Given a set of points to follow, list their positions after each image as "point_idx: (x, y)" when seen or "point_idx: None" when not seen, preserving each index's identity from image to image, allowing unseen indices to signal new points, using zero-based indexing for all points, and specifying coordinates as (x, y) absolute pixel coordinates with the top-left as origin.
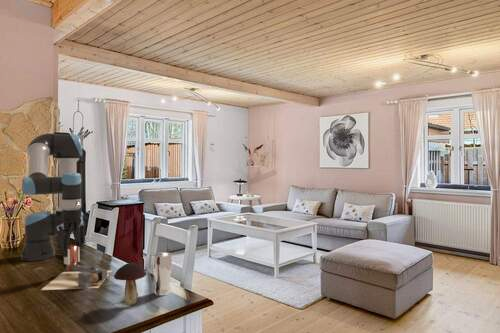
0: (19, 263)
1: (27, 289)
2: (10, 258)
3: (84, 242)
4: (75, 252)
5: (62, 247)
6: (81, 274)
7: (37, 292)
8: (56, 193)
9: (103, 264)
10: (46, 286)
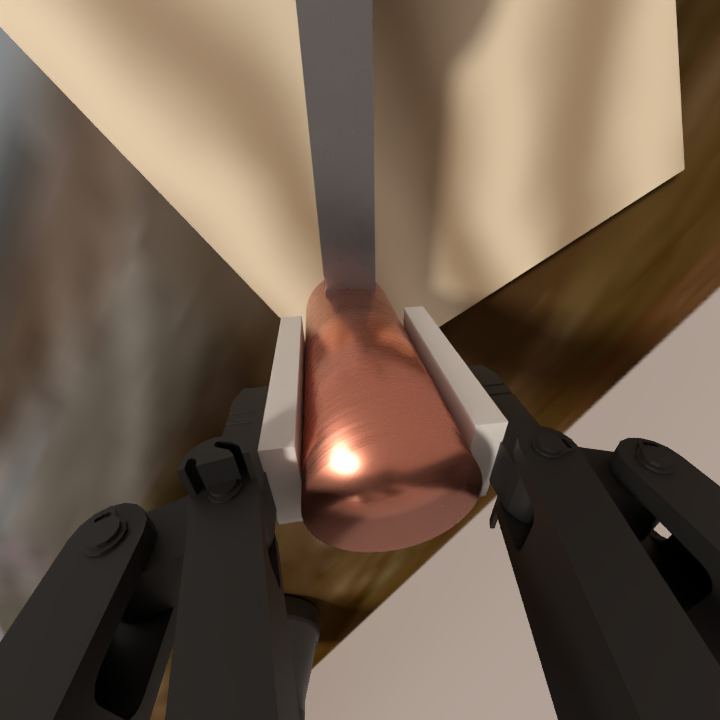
0: (344, 598)
1: (585, 321)
2: (328, 639)
3: (91, 530)
4: (365, 363)
5: (672, 463)
6: None
7: (627, 220)
8: None
9: (8, 362)
10: (611, 205)
